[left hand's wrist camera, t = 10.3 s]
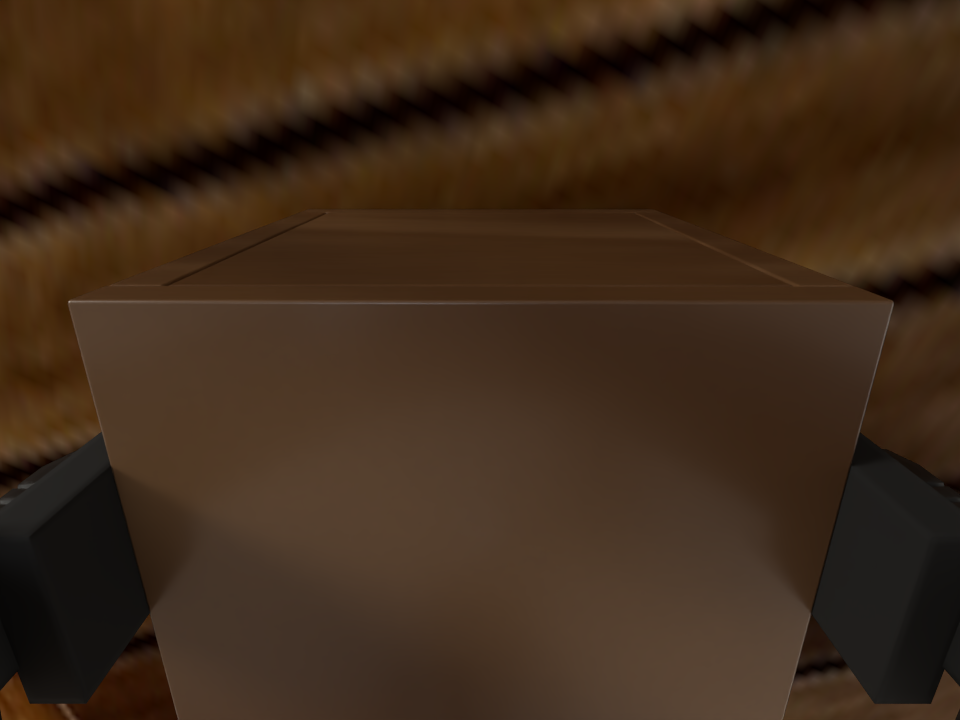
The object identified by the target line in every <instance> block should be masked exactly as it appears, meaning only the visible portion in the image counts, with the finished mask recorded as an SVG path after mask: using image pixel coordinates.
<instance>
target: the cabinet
mask: <svg viewBox="0 0 960 720" xmlns="http://www.w3.org/2000/svg"><path fill="white" fill-rule="evenodd" d="M68 306H69V310H70V314H71V318H72V321H73V325H74V329H75V333H76V336H77V340H78V344H79V348H80V351H81V355H82V359H83V363H84V367H85V370H86V374H87V378H88V382H89V385H90V389H91V393H92V397H93V400H94V404H95V408H96V412H97V416H98V419H99V423H100V427H101V431H102V434H103V438H104V442H105V446H106V449H107V453H108V457H109V461H110V465H111V468H112V472H113V476H114V480H115V483H116V487H117V491H118V495H119V498H120V502H121V506H122V510H123V514H124V517H125V521H126V525H127V529H128V532H129V536H130V540H131V544H132V548H133V551H134V555H135V559H136V563H137V566H138V570H139V574H140V578H141V581H142V585H143V589H144V593H145V597H146V600H147V604H148V608H149V612H150V615H151V619H152V623H153V627H154V630H155V634H156V638H157V642H158V646H159V649H160V653H161V657H162V661H163V664H164V668H165V672H166V676H167V679H168V683H169V687H170V691H171V695H172V698H173V702H174V706H175V710H176V713H177V717H178V720H783V718H784V714H785V710H786V706H787V703H788V699H789V695H790V691H791V688H792V684H793V680H794V676H795V673H796V669H797V665H798V661H799V658H800V654H801V650H802V647H803V643H804V639H805V635H806V632H807V628H808V624H809V620H810V617H811V613H812V609H813V605H814V602H815V598H816V594H817V590H818V587H819V583H820V579H821V575H822V572H823V568H824V564H825V561H826V557H827V553H828V549H829V546H830V542H831V538H832V534H833V531H834V527H835V523H836V519H837V516H838V512H839V508H840V504H841V501H842V497H843V493H844V489H845V486H846V482H847V478H848V474H849V471H850V467H851V463H852V460H853V456H854V452H855V448H856V445H857V441H858V437H859V433H860V430H861V426H862V422H863V418H864V415H865V411H866V407H867V403H868V400H869V396H870V392H871V388H872V385H873V381H874V377H875V373H876V370H877V366H878V362H879V359H880V355H881V351H882V347H883V344H884V340H885V336H886V332H887V329H888V325H889V321H890V317H891V314H892V310H893V306H894V302H893V301H891V300H889V299H887V298H884V297H881V296H879V295H876V294H873V293H871V292H868V291H866V290H863V289H860V288H858V287H853V286H852V285H849V284H847V283H844V282H841V281H839V280H836V279H834V278H831V277H828V276H826V275H823V274H821V273H818V272H815V271H813V270H810V269H808V268H805V267H802V266H800V265H797V264H795V263H792V262H789V261H787V260H784V259H782V258H779V257H776V256H774V255H771V254H769V253H766V252H763V251H761V250H758V249H755V248H753V247H750V246H748V245H745V244H742V243H740V242H737V241H735V240H732V239H729V238H727V237H724V236H722V235H719V234H716V233H714V232H711V231H709V230H706V229H703V228H701V227H698V226H696V225H693V224H690V223H688V222H685V221H683V220H680V219H677V218H675V217H672V216H670V215H667V214H664V213H662V212H659V211H656V210H653V209H308V210H305V211H303V212H300V213H297V214H295V215H292V216H290V217H287V218H284V219H282V220H279V221H276V222H274V223H271V224H269V225H266V226H263V227H261V228H258V229H256V230H253V231H250V232H248V233H245V234H242V235H240V236H237V237H235V238H232V239H229V240H227V241H224V242H222V243H219V244H216V245H214V246H211V247H208V248H206V249H203V250H201V251H198V252H195V253H193V254H190V255H188V256H185V257H182V258H180V259H177V260H174V261H172V262H169V263H167V264H164V265H161V266H159V267H156V268H154V269H151V270H148V271H146V272H143V273H140V274H138V275H135V276H133V277H130V278H127V279H125V280H122V281H120V282H117V283H114V284H112V285H110V286H105V287H102V288H100V289H97V290H94V291H92V292H89V293H86V294H84V295H81V296H79V297H76V298H73V299H71V300H69V301H68Z"/></svg>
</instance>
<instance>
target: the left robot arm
mask: <svg viewBox="0 0 960 720" xmlns="http://www.w3.org/2000/svg"><path fill="white" fill-rule="evenodd" d="M149 613H150V612H149V608H148V604H147V600H146V597H145V593H144V589H143V585H142V581H141V578H140V574H139V570H138V566H137V563H136V559H135V555H134V551H133V548H132V544H131V540H130V536H129V532H128V529H127V525H126V521H125V517H124V514H123V510H122V506H121V502H120V498H119V495H118V491H117V487H116V483H115V480H114V476H113V472H112V468H111V465H110V461H109V457H108V453H107V449H106V446H105V442H104V438H103V434H102V432H101V433H99V434H98V435H97V436H96V437H94V438H93V439H92V440H90V441H89V442H88V443H86V444H85V445H84V446H82V447H81V448H80V449H79V450H77V451H75V452H72V453H70V454H68V455H66V456H64V457H62V458H60V459H58V460H56V461H54V462H51V463H49V464H47V465H45V466H43V467H42V468H40V469H39V470H38V471H36V472H35V473H33V474H32V475H31V476H29V477H28V478H27V479H25V480H24V481H23V482H21V483H20V484H19V485H18V488H17V489H12V490H11V491H9V492H8V493H7V494H5V495H4V496H2V497H1V498H0V690H1V689H2V688H3V687H4V686H5V685H6V683H7V682H8V681H9V680H10V679H11V678H12V677H13V675H14V674H15V673H16V672H18V675H19V677H20V680H21V682H22V685H23V687H24V690H25V692H26V695H27V697H28V700H29V703H30V704H86V703H87V702H88V700H89V699H90V697H91V696H92V695H93V693H94V692H95V690H96V689H97V687H98V686H99V685H100V683H101V682H102V680H103V679H104V677H105V676H106V675H107V673H108V672H109V670H110V669H111V667H112V666H113V665H114V663H115V662H116V660H117V659H118V657H119V656H120V655H121V653H122V652H123V650H124V649H125V647H126V646H127V645H128V643H129V642H130V640H131V639H132V637H133V636H134V635H135V633H136V632H137V630H138V629H139V627H140V626H141V625H142V623H143V622H144V620H145V619H146V618H147V616H148V615H149ZM811 614H812V615H813V617H814V618H815V619H816V621H817V622H818V624H819V625H820V626H821V628H822V629H823V631H824V632H825V634H826V635H827V636H828V638H829V639H830V641H831V642H832V644H833V645H834V646H835V648H836V649H837V651H838V652H839V654H840V655H841V656H842V658H843V659H844V661H845V662H846V664H847V665H848V666H849V668H850V669H851V671H852V672H853V674H854V675H855V676H856V678H857V679H858V681H859V682H860V684H861V685H862V686H863V688H864V689H865V691H866V692H867V694H868V695H869V696H870V698H871V699H872V701H873V702H874V703H875V704H931V702H932V700H933V697H934V695H935V692H936V690H937V687H938V684H939V682H940V679H941V677H942V674H943V672H944V669H945V670H946V671H947V672H948V674H949V675H950V676H951V677H952V678H953V679H954V680H955V681H956V683H957V684H958V685H959V686H960V495H959V494H958V493H957V492H955V491H954V490H953V489H951V488H950V487H944V483H943V482H942V481H940V480H939V479H938V478H936V477H935V476H934V475H932V474H931V473H930V472H928V471H927V470H925V469H924V468H923V467H921V466H920V465H918V464H916V463H914V462H912V461H910V460H908V459H906V458H904V457H902V456H899V455H897V454H895V453H893V452H891V451H889V450H887V449H881V448H880V447H878V446H877V445H876V444H874V443H873V442H872V441H870V440H869V439H868V438H867V437H865V436H864V435H863V434H861V433H859V437H858V441H857V445H856V448H855V452H854V456H853V460H852V463H851V467H850V471H849V474H848V478H847V482H846V486H845V489H844V493H843V497H842V501H841V504H840V508H839V512H838V516H837V519H836V523H835V527H834V531H833V534H832V538H831V542H830V546H829V549H828V553H827V557H826V561H825V564H824V568H823V572H822V575H821V579H820V583H819V587H818V590H817V594H816V598H815V602H814V605H813V609H812V613H811ZM0 720H2V718H1V712H0ZM955 720H960V710H959V712H958V715H957V717H956V719H955Z"/></svg>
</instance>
